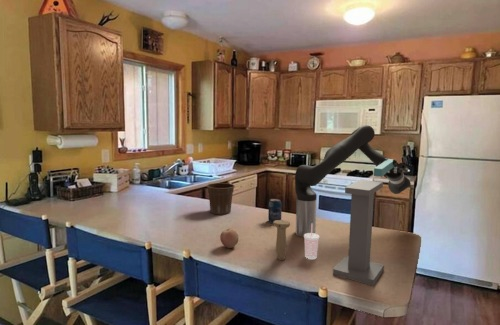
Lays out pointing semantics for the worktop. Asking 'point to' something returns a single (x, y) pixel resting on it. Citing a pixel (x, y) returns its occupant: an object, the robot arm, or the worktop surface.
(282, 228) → the handle
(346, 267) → the gray stand
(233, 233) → the apple
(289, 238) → the worktop surface
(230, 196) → the plant pot
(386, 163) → the teal bar
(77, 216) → the worktop surface
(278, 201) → the soda can
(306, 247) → the beverage cup
